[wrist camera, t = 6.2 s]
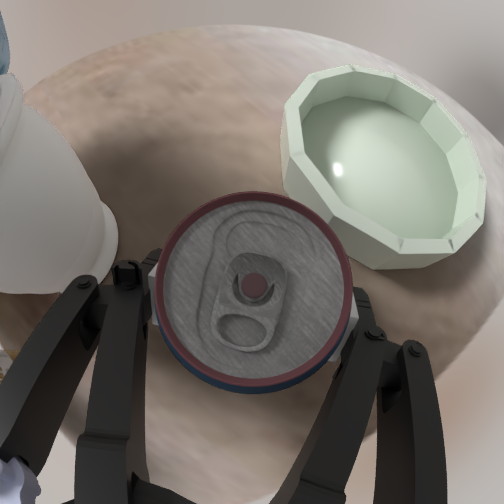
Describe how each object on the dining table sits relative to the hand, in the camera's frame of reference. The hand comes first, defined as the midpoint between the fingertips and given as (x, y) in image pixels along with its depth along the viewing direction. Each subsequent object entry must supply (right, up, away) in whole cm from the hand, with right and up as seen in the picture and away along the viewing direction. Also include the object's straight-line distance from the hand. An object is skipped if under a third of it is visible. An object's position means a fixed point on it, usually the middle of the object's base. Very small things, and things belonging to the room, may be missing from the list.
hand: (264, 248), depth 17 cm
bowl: (+11, +7, +6) cm, 14 cm away
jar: (-15, 0, +4) cm, 16 cm away
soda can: (-1, -4, +3) cm, 5 cm away
